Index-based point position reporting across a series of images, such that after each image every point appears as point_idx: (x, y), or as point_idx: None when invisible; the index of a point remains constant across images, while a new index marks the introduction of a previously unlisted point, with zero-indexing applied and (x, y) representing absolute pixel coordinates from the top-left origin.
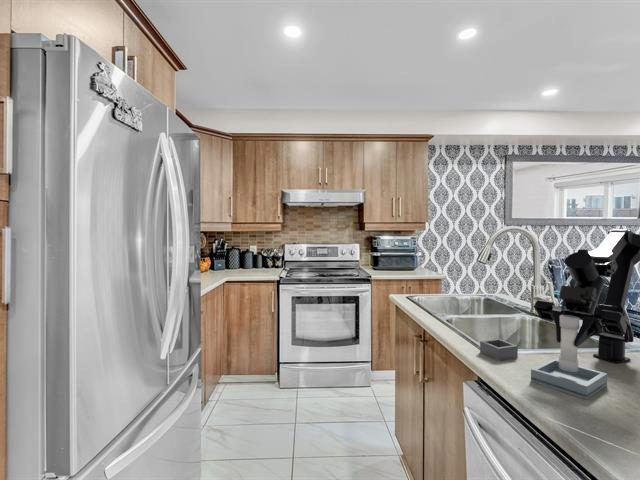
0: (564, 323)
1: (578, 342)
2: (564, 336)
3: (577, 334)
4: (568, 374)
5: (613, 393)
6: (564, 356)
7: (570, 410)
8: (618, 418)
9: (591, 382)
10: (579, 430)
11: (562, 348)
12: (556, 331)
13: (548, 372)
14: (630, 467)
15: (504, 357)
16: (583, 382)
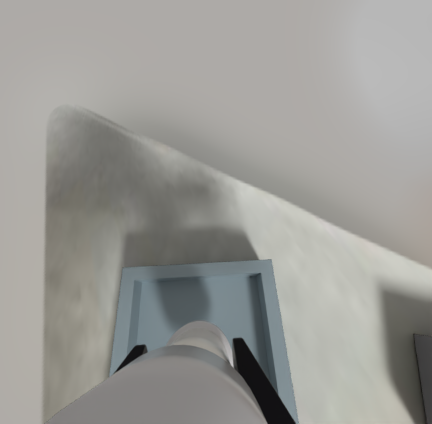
0: (180, 355)
1: None
2: (196, 346)
3: None
4: None
5: None
6: (200, 329)
7: (145, 200)
8: (71, 241)
9: (120, 312)
10: (115, 150)
11: (210, 337)
12: (274, 390)
13: (261, 348)
14: (50, 120)
15: (426, 368)
16: None
